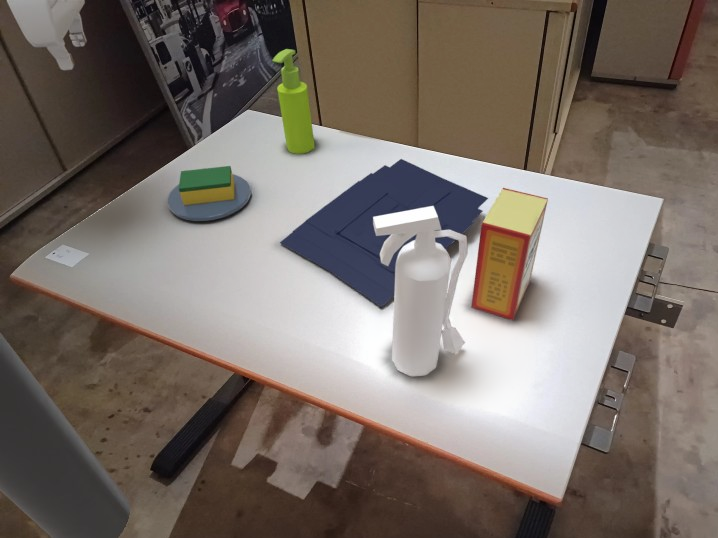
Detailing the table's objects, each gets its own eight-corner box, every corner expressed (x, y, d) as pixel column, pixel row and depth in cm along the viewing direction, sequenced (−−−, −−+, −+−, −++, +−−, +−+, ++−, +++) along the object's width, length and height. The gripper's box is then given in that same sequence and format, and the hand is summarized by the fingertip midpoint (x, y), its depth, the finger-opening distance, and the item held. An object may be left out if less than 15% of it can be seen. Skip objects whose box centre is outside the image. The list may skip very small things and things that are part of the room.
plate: (166, 228, 98) (164, 222, 97) (173, 183, 108) (170, 177, 107) (252, 218, 100) (250, 211, 99) (250, 174, 111) (249, 168, 110)
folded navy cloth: (496, 214, 98) (497, 198, 96) (384, 319, 85) (382, 304, 82) (395, 167, 110) (393, 151, 107) (282, 253, 96) (277, 238, 94)
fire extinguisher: (471, 372, 75) (492, 223, 57) (383, 384, 73) (377, 235, 56) (459, 335, 80) (475, 187, 62) (376, 345, 78) (369, 197, 61)
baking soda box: (490, 269, 90) (503, 185, 78) (530, 281, 88) (548, 196, 77) (471, 307, 84) (481, 221, 72) (512, 320, 82) (530, 234, 70)
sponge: (184, 205, 101) (178, 188, 98) (186, 187, 105) (180, 171, 102) (234, 199, 102) (230, 182, 99) (234, 182, 106) (230, 165, 104)
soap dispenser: (279, 153, 116) (262, 56, 102) (295, 138, 121) (281, 43, 107) (303, 158, 115) (289, 60, 101) (319, 143, 119) (308, 47, 105)
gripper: (27, -64, 82) (67, 34, 91) (-17, -27, 67) (36, 85, 77) (72, -67, 83) (107, 31, 92) (39, -30, 68) (84, 80, 78)
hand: (74, 56), depth 85 cm, fingers open, 8 cm apart
